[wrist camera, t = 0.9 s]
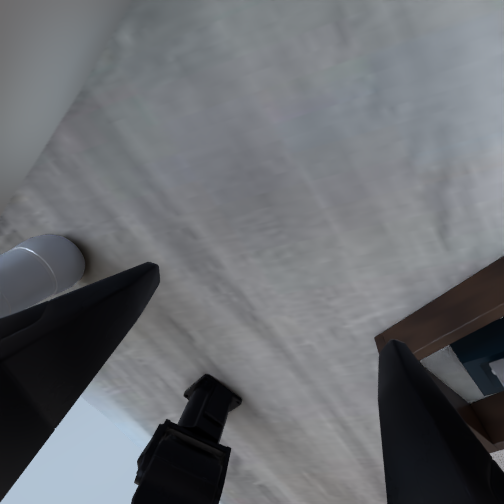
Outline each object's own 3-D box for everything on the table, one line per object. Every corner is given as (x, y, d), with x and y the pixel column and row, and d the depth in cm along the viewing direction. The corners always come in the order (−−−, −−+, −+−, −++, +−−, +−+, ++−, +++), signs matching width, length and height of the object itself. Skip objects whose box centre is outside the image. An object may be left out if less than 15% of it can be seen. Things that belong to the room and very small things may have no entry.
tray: (467, 412, 28) (489, 453, 24) (373, 337, 26) (383, 369, 23) (629, 350, 21) (693, 393, 18) (518, 246, 20) (562, 271, 16)
